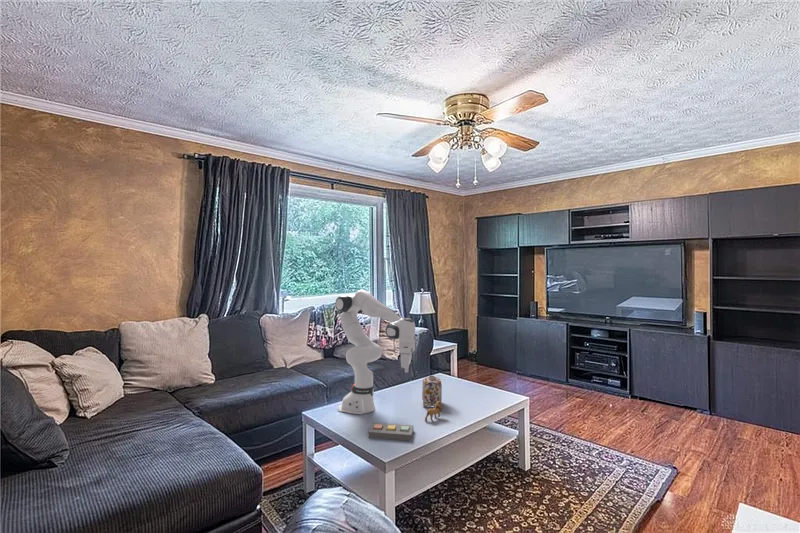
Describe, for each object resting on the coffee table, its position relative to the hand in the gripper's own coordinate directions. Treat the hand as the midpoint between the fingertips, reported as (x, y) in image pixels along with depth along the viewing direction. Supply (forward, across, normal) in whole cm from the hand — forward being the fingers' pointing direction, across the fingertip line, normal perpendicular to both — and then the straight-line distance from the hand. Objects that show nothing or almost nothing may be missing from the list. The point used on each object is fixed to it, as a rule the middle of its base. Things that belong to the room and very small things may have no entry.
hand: (406, 371), depth 218 cm
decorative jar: (+29, -33, +13) cm, 46 cm away
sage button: (+29, +15, +1) cm, 32 cm away
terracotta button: (+29, +15, -13) cm, 35 cm away
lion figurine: (+29, -9, +15) cm, 34 cm away
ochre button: (+29, +15, -6) cm, 33 cm away
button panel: (+29, +15, -6) cm, 33 cm away
